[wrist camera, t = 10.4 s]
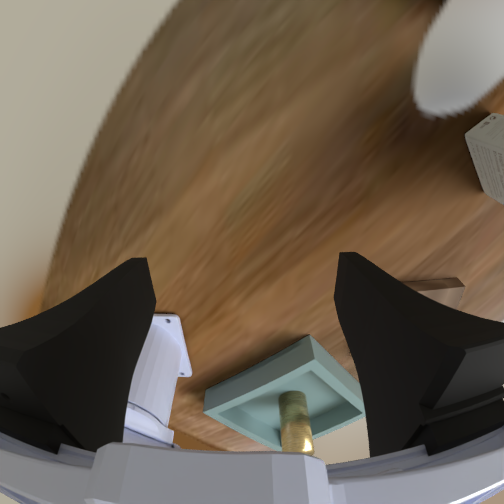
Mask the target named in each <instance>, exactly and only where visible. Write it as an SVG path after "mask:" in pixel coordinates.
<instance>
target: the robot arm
mask: <svg viewBox="0 0 504 504" xmlns="http://www.w3.org/2000/svg"><path fill="white" fill-rule="evenodd" d="M334 301H335V306H336V311H337V315H338V319H339V322H340V325H341V327H342V330H343V333H344V336H345V338H346V341H347V344H348V347H349V349H350V352H351V355H352V358H353V360H354V363H355V366H356V370H357V373H358V377H359V382H360V387H361V392H362V397H363V403H364V409H365V415H366V422H367V430H368V438H369V450H370V458H366V459H360V460H355V461H349V462H343V463H336V464H329V465H325V463H324V461H323V460H321V459H319V458H317V457H314V456H311V455H307V454H304V453H301V452H282V451H250V452H234V451H204V450H188V449H181V448H180V446H179V445H177V444H174V443H172V441H173V435H174V431H173V430H170V429H168V428H167V427H168V422H169V417H170V412H171V407H172V402H173V397H174V392H175V387H176V382H177V377H190V376H191V375H192V369H191V365H190V361H189V357H188V353H187V348H186V344H185V340H184V336H183V331H182V327H181V322H180V318H179V317H178V316H177V315H175V314H154V311H155V306H156V298H155V293H154V289H153V285H152V280H151V276H150V271H149V267H148V262H147V258H131V259H129V260H127V261H125V262H124V263H122V264H121V265H119V266H118V267H116V268H115V269H113V270H112V271H110V272H109V273H108V274H106V275H105V276H103V277H102V278H100V279H99V280H98V281H96V282H95V283H93V284H92V285H90V286H89V287H87V288H86V289H84V290H82V291H81V292H79V293H78V294H76V295H75V296H73V297H71V298H70V299H68V300H66V301H64V302H63V303H61V304H59V305H57V306H55V307H53V308H51V309H49V310H47V311H44V312H42V313H40V314H38V315H36V316H34V317H31V318H29V319H26V320H23V321H21V322H18V323H15V324H12V325H8V326H5V327H2V328H0V492H1V493H3V494H4V495H6V496H8V497H10V498H11V499H13V500H15V501H17V502H19V503H20V504H479V503H481V502H483V501H485V500H486V499H488V498H490V497H492V496H493V495H495V494H497V493H498V492H500V491H502V490H504V401H503V399H502V398H504V388H503V386H502V385H503V384H504V323H503V322H498V321H493V320H489V319H484V318H480V317H477V316H474V315H470V314H467V313H464V312H461V311H458V310H456V309H453V308H451V307H448V306H446V305H443V304H441V303H439V302H437V301H434V300H432V299H430V298H428V297H426V296H424V295H422V294H420V293H419V292H417V291H415V290H413V289H411V288H410V287H408V286H407V285H405V284H403V283H402V282H400V281H398V280H397V279H395V278H394V277H392V276H391V275H389V274H388V273H386V272H385V271H383V270H382V269H380V268H379V267H378V266H376V265H375V264H373V263H372V262H370V261H369V260H367V259H366V258H364V257H363V256H361V255H360V254H358V253H356V252H340V253H339V262H338V270H337V278H336V285H335V292H334ZM167 319H169V320H167ZM182 372H183V373H182Z"/></svg>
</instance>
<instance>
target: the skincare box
mask: <svg viewBox="0 0 504 504" xmlns="http://www.w3.org/2000/svg"><path fill="white" fill-rule="evenodd" d="M465 139H466V142H467V145H468V148H469V151H470V154H471V157H472V160H473V163H474V166H475V168H476V171H477V174H478V177H479V180H480V183H481V185H482V188H483V190H484V192H485V194H486V195H488V196H489V197H491V198H493V199H495V200H496V201H498V202H499V203H501V204H503V205H504V115H500V114H496V113H492V114H491V115H489V116H488V117H486V118H485V119H483V120H482V121H481V122H480V123H478V124H477V125H476V126H474V127H473V128H472V129H470V130H469V131H468V132H467V133H466V134H465Z"/></svg>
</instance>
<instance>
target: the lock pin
mask: <svg viewBox="0 0 504 504" xmlns="http://www.w3.org/2000/svg"><path fill="white" fill-rule="evenodd" d="M278 405H279V417H280V429H281V442H282V452H301V453H304V454H307V455H311V456H312V455H313V454H314V447H313V439H312V432H311V426H310V419H309V413H308V406H307V400H306V395H305V394H304V393H303V392H301V391H288V392H285V393H283V394H281V395H280V396H279V398H278Z"/></svg>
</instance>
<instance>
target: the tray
mask: <svg viewBox="0 0 504 504" xmlns="http://www.w3.org/2000/svg"><path fill="white" fill-rule="evenodd" d="M288 391H301V392H303V393H304V394H305V395H306V400H307V406H308V413H309V419H310V426H311V432H312V439H316V438H318V437H320V436H323V435H325V434H328V433H330V432H332V431H335V430H337V429H339V428H342V427H344V426H346V425H348V424H351V423H353V422H355V421H357V420H359V419H361V418H363V417H365V416H366V415H365V409H364V403H363V397H362V392H361V387H360V383H359V382H358V381H357V380H356V379H355V378H353V377H352V376H351V375H350V374H349V373H348V372H347V371H346V370H345V369H344V368H343V367H342V366H341V365H340V364H339V363H338V362H337V361H336V360H335V359H334V358H333V357H332V356H331V355H330V354H329V353H328V352H327V351H326V350H325V349H324V348H323V347H322V346H321V345H320V344H319V343H318V342H317V341H316V340H315V339H314V338H313V337H312V336H311V335H308V336H306V337H304V338H303V339H301V340H299V341H298V342H296V343H294V344H292V345H291V346H289V347H287V348H285V349H284V350H282V351H280V352H278V353H276V354H275V355H273V356H271V357H269V358H267V359H265V360H264V361H262V362H260V363H258V364H256V365H254V366H252V367H250V368H248V369H247V370H245V371H243V372H241V373H239V374H237V375H235V376H233V377H231V378H229V379H227V380H225V381H223V382H221V383H219V384H217V385H215V386H213V387H211V388H208V389H206V391H205V399H204V408H203V413H205V414H207V415H208V416H210V417H212V418H214V419H215V420H217V421H219V422H221V423H223V424H224V425H226V426H228V427H230V428H232V429H234V430H236V431H237V432H239V433H241V434H243V435H245V436H247V437H249V438H251V439H253V440H255V441H257V442H259V443H261V444H263V445H265V446H268V447H270V448H272V449H274V450H276V451H282V442H281V429H280V417H279V405H278V398H279V396H280V395H281V394H283V393H285V392H288Z"/></svg>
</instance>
